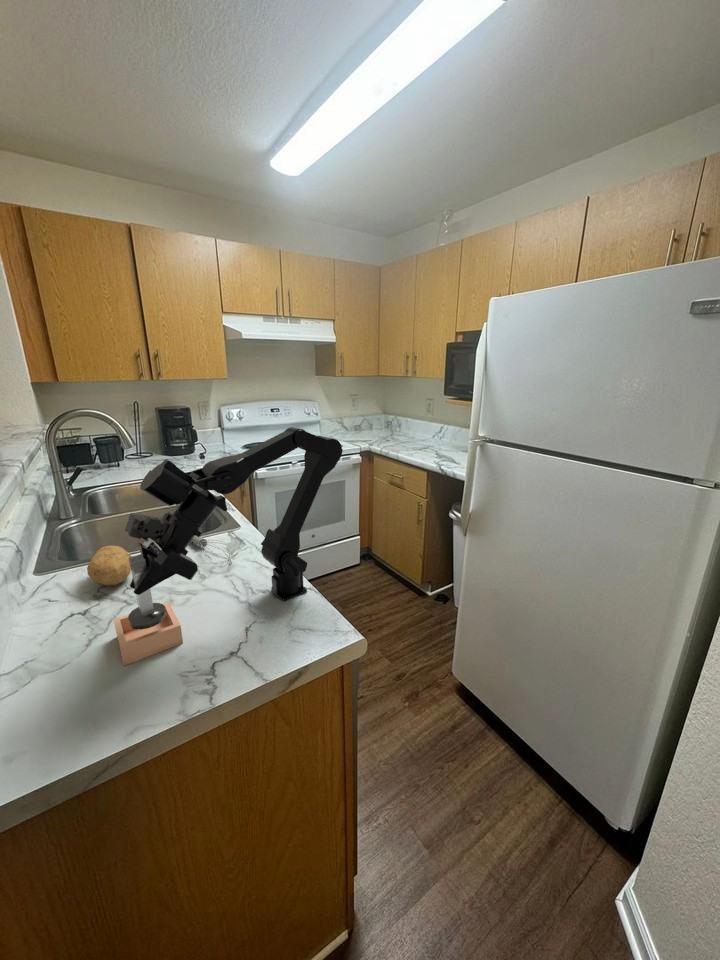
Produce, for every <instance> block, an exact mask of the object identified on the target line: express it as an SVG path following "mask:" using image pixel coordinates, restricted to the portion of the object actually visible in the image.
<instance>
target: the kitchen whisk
mask: <svg viewBox="0 0 720 960" xmlns="http://www.w3.org/2000/svg"><path fill="white" fill-rule="evenodd" d="M217 541H218V542H219V544H222V545H225V546H227V547H228V551H225V550H223V549H222V548H220V547H219V546H218V545H216V544H218V542H217ZM192 542H193V543H192ZM190 543H192V544H194V545H196V546H198V547H199V548H201V550H202V553H203V555H204V556H205V558H206V559H207V560H208V561H209V563H212V564H214V565H217V563H215V562H212V560H211V559H209V558H208V557H207V556H206V554H205V552H207V553H208V554H209V555H212V556H213V557H216V558H220V559H222V557H221V556H219V555H215V554H214V553H213V554H212V552H209V551H210V550H211V549H210V548H209V547H207V545H208V546H211V547H213V548H215V549H218V550H220V551H222V552H223V554H224V555H226V558H225V557H223V559H224V560H225V559H226V560H225V561H223V562H221V563H219V565H221V564H224V563H226V562H227V563H226V564H225V565H224V566H222V568H224V567H226V566H227V565H229V564H228V563H229V561H230V565H232V564H233V563H232V561H231V560H232V559H231V556H232V557H233V560H235V559H236V558H237V557H236V556H235V553H236V549H235V548H234V547H233V546H232V545H230V544H227V543H226V542H224V541H223V540H218V539H214V541H211V539H206V538H204V537H202V536H200V537H197V536H194V538H193V539H192V540H191V542H190ZM208 543H209V544H208ZM215 543H216V544H215ZM211 544H212V545H211ZM205 548H207V549H208V550H209V551H207V550H206V549H205ZM230 548H232V549H233V551H234V552H233V554H232V553H231V550H230ZM204 551H205V552H204ZM227 553H228V554H229V556H228V555H227ZM218 556H219V557H218Z"/></svg>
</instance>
